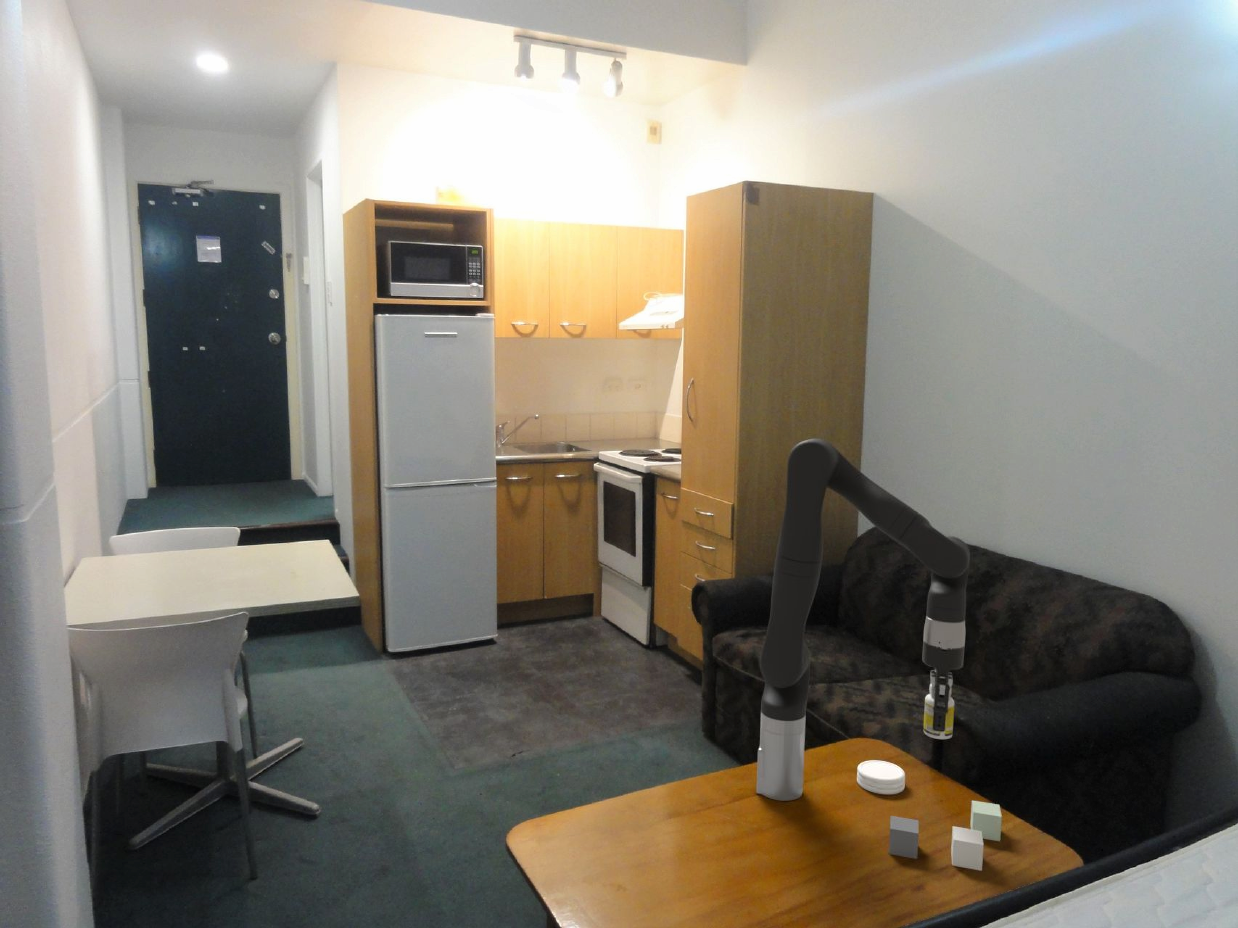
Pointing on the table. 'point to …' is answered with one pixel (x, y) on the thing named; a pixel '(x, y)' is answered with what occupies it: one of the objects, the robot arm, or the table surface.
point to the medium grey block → (903, 837)
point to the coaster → (881, 777)
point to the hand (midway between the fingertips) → (938, 724)
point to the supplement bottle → (929, 718)
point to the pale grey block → (967, 848)
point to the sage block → (986, 819)
